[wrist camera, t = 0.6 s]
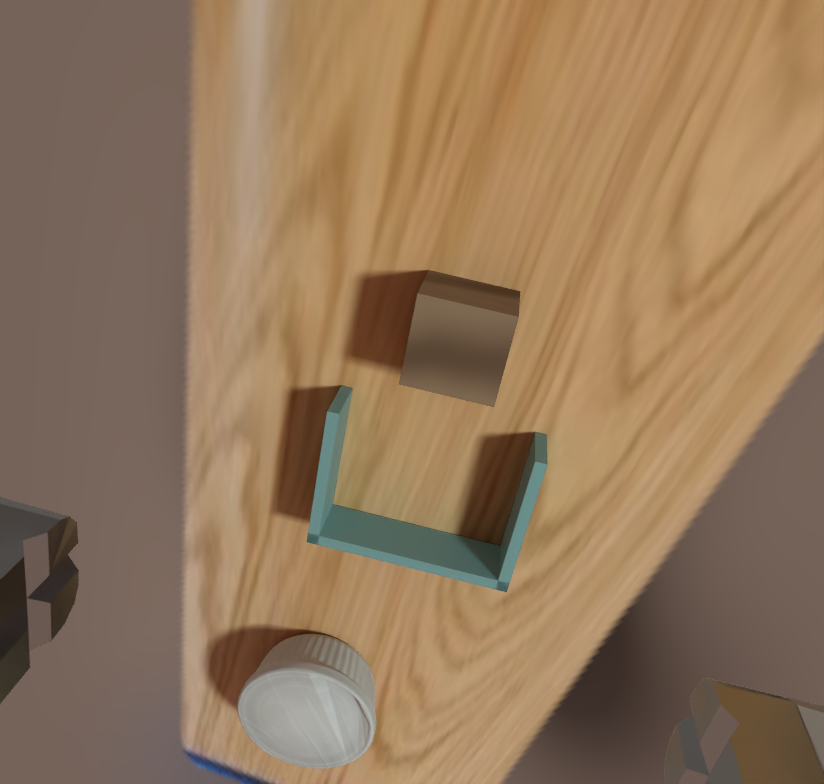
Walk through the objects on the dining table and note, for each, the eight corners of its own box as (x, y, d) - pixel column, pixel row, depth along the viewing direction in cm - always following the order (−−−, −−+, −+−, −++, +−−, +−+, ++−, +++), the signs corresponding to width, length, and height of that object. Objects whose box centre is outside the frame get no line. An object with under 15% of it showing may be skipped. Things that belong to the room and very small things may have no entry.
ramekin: (412, 679, 63) (402, 731, 59) (329, 737, 68) (314, 789, 63) (312, 599, 61) (294, 646, 56) (234, 664, 66) (210, 712, 61)
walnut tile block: (428, 269, 48) (417, 293, 44) (520, 290, 48) (518, 316, 43) (410, 353, 51) (398, 384, 46) (497, 374, 50) (493, 407, 46)
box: (341, 385, 52) (327, 411, 49) (546, 434, 52) (547, 464, 48) (321, 510, 57) (306, 541, 54) (508, 557, 56) (506, 592, 53)
